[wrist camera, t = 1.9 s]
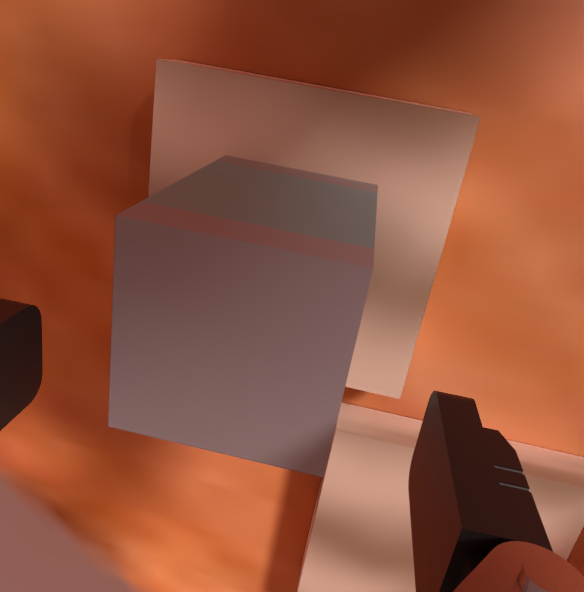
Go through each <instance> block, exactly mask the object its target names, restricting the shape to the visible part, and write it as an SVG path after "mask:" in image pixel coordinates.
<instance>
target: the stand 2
mask: <svg viewBox="0 0 584 592" xmlns="http://www.w3.org/2000/svg"><path fill="white" fill-rule="evenodd" d="M422 422H423V421H422V420H417V419H413V418H408V417H404V416H399V415H395V414H391V413H386V412H382V411H377V410H373V409H369V408H364V407H360V406H355V405H351V404H346V403H341V407H340V411H339V415H338V419H337V424H336V428H335V432H334V436H333V440H332V445H331V449H330V453H329V457H328V462H327V466H326V470H325V474H324V478H322V479H321V483H320V488H319V492H318V496H317V500H316V505H315V509H314V513H313V517H312V522H311V526H310V530H309V534H308V538H307V543H306V547H305V551H304V555H303V560H302V564H301V568H300V573H299V579H298V585H297V591H296V592H416V588H415V574H414V560H413V546H412V532H411V518H410V505H409V491H408V482H409V471H410V465H411V460H412V456H413V452H414V449H415V446H416V442H417V439H418V436H419V432H420V429H421V425H422ZM507 441H508V442H509V443H510V445H511V446H512V447H513V448H514V449H515V450H516V453H517V455H518V458H519V461H520V463H521V466H522V469H523V475H525V477H526V480H527V482H528V485H529V492H531V493H532V496H533V499H534V501H535V504H536V507H537V509H538V512H539V515H540V518H541V520H542V523H543V526H544V528H545V531H546V534H547V536H548V539H549V542H550V545H551V547H552V550H553V552H554V553H556V554H557V555H559V556H560V557H562V558H563V559H565V560H566V561H567V559H568V557H569V555H570V553H571V551H572V549H573V547H574V545H575V543H576V541H577V539H578V537H579V535H580V533H581V531H582V529H583V527H584V458H583V457H581V456H576V455H572V454H567V453H563V452H559V451H554V450H550V449H545V448H541V447H536V446H532V445H528V444H523V443H519V442H514V441H510V440H507Z"/></svg>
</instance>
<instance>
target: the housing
mask: <svg viewBox="0 0 584 592" xmlns="http://www.w3.org/2000/svg"><path fill="white" fill-rule="evenodd" d="M377 193H378V185H376V184H371V183H366V182H361V181H355V180H350V179H345V178H340V177H335V176H330V175H324V174H319V173H314V172H309V171H304V170H299V169H294V168H288V167H283V166H278V165H273V164H268V163H263V162H258V161H252V160H247V159H242V158H237V157H232V156H227V155H225V156H223V157H221V158H219V159H217V160H216V161H214V162H212V163H210V164H208V165H206V166H205V167H203V168H201V169H199V170H197V171H195V172H194V173H192V174H190V175H188V176H186V177H184V178H183V179H181V180H179V181H177V182H175V183H173V184H172V185H170V186H168V187H166V188H164V189H162V190H161V191H159V192H157V193H155V194H153V195H151V196H150V197H148V198H146V199H144V200H142V201H140V202H139V203H137V204H135V205H133V206H131V207H129V208H127V209H126V210H124V211H122V212H120V213H118V214H116V216H115V245H114V273H113V302H112V330H111V359H110V387H109V416H108V427H112V428H116V429H120V430H125V431H129V432H133V433H137V434H142V435H146V436H150V437H154V438H158V439H163V440H167V441H171V442H175V443H179V444H184V445H188V446H192V447H196V448H200V449H205V450H209V451H213V452H217V453H221V454H226V455H230V456H234V457H238V458H242V459H247V460H251V461H255V462H259V463H263V464H268V465H272V466H276V467H280V468H285V469H289V470H293V471H297V472H301V473H306V474H310V475H314V476H318V477H322V478H324V474H325V470H326V466H327V462H328V457H329V453H330V449H331V445H332V440H333V436H334V432H335V428H336V424H337V419H338V415H339V411H340V407H341V403H342V398H343V394H344V390H345V386H346V381H347V377H348V373H349V369H350V365H351V360H352V356H353V352H354V348H355V344H356V339H357V335H358V331H359V327H360V322H361V318H362V314H363V310H364V306H365V301H366V297H367V293H368V289H369V284H370V280H371V276H372V272H373V266H374V248H375V229H376V211H377Z"/></svg>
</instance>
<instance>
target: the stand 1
mask: <svg viewBox="0 0 584 592" xmlns="http://www.w3.org/2000/svg"><path fill="white" fill-rule="evenodd" d="M479 121H480V117H478V116H476V115H474V114H472V113H469V112H463V111H458V110H452V109H447V108H441V107H436V106H430V105H425V104H419V103H414V102H408V101H403V100H397V99H392V98H386V97H381V96H375V95H370V94H364V93H359V92H353V91H348V90H342V89H337V88H331V87H326V86H320V85H315V84H309V83H304V82H298V81H293V80H287V79H282V78H276V77H271V76H265V75H260V74H254V73H249V72H243V71H238V70H232V69H227V68H221V67H216V66H210V65H205V64H199V63H194V62H188V61H183V60H173V59H156V73H155V90H154V107H153V124H152V141H151V158H150V175H149V192H148V197H150V196H151V195H153V194H155V193H157V192H159V191H161V190H162V189H164V188H166V187H168V186H170V185H172V184H173V183H175V182H177V181H179V180H181V179H183V178H184V177H186V176H188V175H190V174H192V173H194V172H195V171H197V170H199V169H201V168H203V167H205V166H206V165H208V164H210V163H212V162H214V161H216V160H217V159H219V158H221V157H223V156H225V155H227V156H232V157H237V158H242V159H247V160H252V161H258V162H263V163H268V164H273V165H278V166H283V167H288V168H294V169H299V170H304V171H309V172H314V173H319V174H324V175H330V176H335V177H340V178H345V179H350V180H355V181H361V182H366V183H371V184H376V185H378V193H377V211H376V229H375V248H374V266H373V272H372V276H371V280H370V284H369V289H368V293H367V297H366V301H365V306H364V310H363V314H362V318H361V322H360V327H359V331H358V335H357V339H356V344H355V348H354V352H353V356H352V360H351V365H350V369H349V373H348V377H347V381H346V386H345V387H349V388H353V389H357V390H362V391H366V392H371V393H375V394H380V395H384V396H389V397H393V398H398V399H400V396H401V393H402V390H403V386H404V383H405V379H406V376H407V372H408V369H409V365H410V362H411V358H412V355H413V351H414V348H415V344H416V341H417V337H418V334H419V330H420V327H421V323H422V320H423V316H424V313H425V309H426V306H427V302H428V299H429V295H430V292H431V288H432V285H433V281H434V278H435V275H436V271H437V268H438V264H439V261H440V257H441V254H442V250H443V247H444V243H445V240H446V236H447V233H448V229H449V226H450V222H451V219H452V215H453V212H454V208H455V205H456V201H457V198H458V194H459V191H460V187H461V184H462V180H463V177H464V173H465V170H466V166H467V163H468V160H469V156H470V153H471V149H472V146H473V142H474V139H475V135H476V132H477V128H478V125H479Z"/></svg>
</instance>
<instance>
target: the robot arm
mask: <svg viewBox="0 0 584 592" xmlns="http://www.w3.org/2000/svg"><path fill="white" fill-rule="evenodd" d="M41 380H42V325H41V314H40V311H39V309H38V308H37V307H36V306H34V305H29V304H25V303H20V302H15V301H10V300H6V299H0V431H1V430H2V429H3V428H4V427H5V426H6V425H7V424H8V423H9V422H10V421H11V420H12V419H13V418H15V417H16V416H17V415H18V414H19V413H20V412H21V411H22V410H23V409H24V408H25V407H26V406H28V405H29V404H30V403H31V402H32V400H33V399H34V397H35V396H36V394H37V392H38V390H39V387H40V384H41ZM408 491H409V505H410V518H411V532H412V546H413V560H414V574H415V588H416V592H584V576H583V575H582V574H581V573H580V572H579V571H578V570H577V569H576V568H575V567H574V566H573V565H571V564H570V563H569V562H568V561H566V560H565V559H563V558H562V557H560V556H559V555H557V554H556V553H554V552H553V550H552V547H551V545H550V542H549V539H548V536H547V534H546V531H545V528H544V526H543V523H542V520H541V518H540V515H539V512H538V509H537V507H536V504H535V501H534V499H533V496H532V493H531V492H529V485H528V482H527V480H526V477H525V475H523V469H522V466H521V463H520V461H519V458H518V455H517V453H516V450H515V449H514V448H513V447H512V446H511V445H510V443H509V442H508V441H507V440H506V439H505V438H504V437H503V436H502V435H501V433H500V432H499V431H497V430H493V429H488V428H483V427H482V424H481V420H480V417H479V414H478V410H477V407H476V404H475V401H474V399H472V398H467V397H462V396H457V395H453V394H448V393H443V392H438V391H433V393H432V394H431V396H430V399H429V402H428V405H427V408H426V412H425V415H424V419H423V422H422V425H421V429H420V432H419V436H418V439H417V442H416V446H415V449H414V452H413V456H412V460H411V465H410V471H409V482H408Z"/></svg>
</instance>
